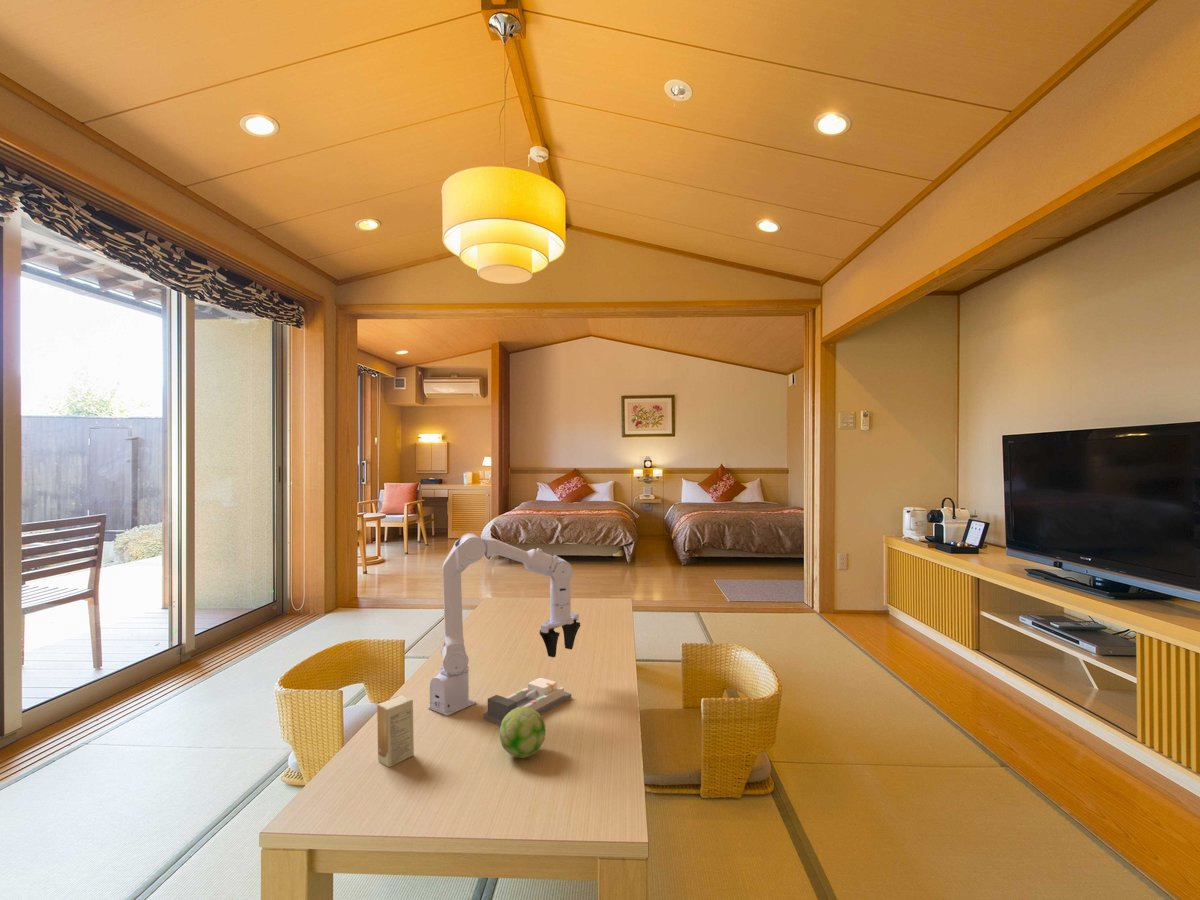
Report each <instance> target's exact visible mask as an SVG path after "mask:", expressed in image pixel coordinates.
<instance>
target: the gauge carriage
mask: <svg viewBox="0 0 1200 900" xmlns="http://www.w3.org/2000/svg"><path fill="white" fill-rule="evenodd" d="M527 687H528V693H527V694H526V698H527V699H531V698H532V699H536V698H538V697H540V696H541V697H542V696H544V695H546V694H548V693H550V692H552V691H554V690H556V689H558V688H557V681H554V680H551V679H548V678H544V677H539V678H538V677H537V678H536V679H533V680H532V681H530V682H527Z"/></svg>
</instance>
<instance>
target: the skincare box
mask: <svg viewBox="0 0 1200 900" xmlns="http://www.w3.org/2000/svg"><path fill="white" fill-rule="evenodd" d="M413 701H414V699H413V698H410V697H409V696H407V695H406V696H405V695H403V694H401V695H398V696H395V697H393V698H391V699H387V700H385V701H382V702H380V703H377V705H376V706H377V707H376V708H377V710H376V711H377V712H376V713H377V714H376V715H377V762H379V763H381V764H382V765H384V766H385V767H387V768H390V767H393V766H394V765H398V764H399V763H400V762H403V761H405V760H406V759H409V758H411V757H413V756H414V755H415V748H414V747H415V746H414V744H415V743H414V742H415V741H414V702H413Z"/></svg>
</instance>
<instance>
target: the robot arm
mask: <svg viewBox="0 0 1200 900" xmlns="http://www.w3.org/2000/svg"><path fill="white" fill-rule="evenodd" d="M495 555H497V556H501V557H505V558H507V559H510V560H513V561H517V562H520V563H522V564H523V566H524V568H525V570H528V571H530V572H534V573H537V574H540V575H542V576H544V577H550V578H549V579H550V580H549V581H550V582H549V583H550V584H549V619H547V620H546V621H545V622H543V623H542V624H540V629H539V635H540V637H541V638H542V641H543V642H544V646H545V649H546V652H547V656H548V657H549V658H555V657H556V656H557V648H558V647H557V645H558V640H559V637H560V634H561V633H560V632H558V631H556V630H555V629H558V628H560V627H561V628H562V632H563V639H564V642H563V643H564V648H565V650H566V649H567V650H573V648H574V643H575V640H576V636H577V633H578V631H579V629H580V627H581V622H579V620H580V616H579V615H580V613H577V612H572V611H571V610H572V608H571V599H572V598H571V597H572V596H571V594H572V593H571V591H572V590H571V588H572V587H571V580H572V577H573V576H574V570H573V567H572V565H571V564H570V563H569V561H567V560H565V559H563V558H561V557H560V556H558V555H556V554H553V555H552V554H548V553H546V552H544V551H543V549H541V548H539V547H537V548H536V549H535V548H531V549H529V550H523V549H521V548H519V547H516V546H513V545H511V544H509V543H506V542H503V541H502V540H499V539H496V538H493V537H489V536H485V535H480V534H479V535H477V534H476V533H475V532H474V533H473V532H469V533H464V534H463V535H462V536H461V537H459V538H458V539H457V540H455V542H454V544H453V546H452V548H451V549H450V551H449V553H448V555H447V556H446V558H445V560H444V561H443V563H442V566H441V568H442V569H441V570H442V592H443V593H442V594H443V595H442V596H443V600H442V601H443V621H444V622H443V624H444V625H443V626H444V628H443V629H444V634H443V637H444V638H443V639H444V640H443V645H442V647H441V650H440V655H441V659H442V665H441V666H440V668H439V673H438V674H437V675H435V676H434V677H432V679H431V680H430V683H429V705H428V706H427V709H429V710H431V711H432V710H433V711H434V712H437V713H440V714H441V715H443V716H450V715H452V714H454V713H457V712H459V711H461V710H464V709H466V708H468V707H470V706H472V705H475V704H476V702H477V701H476V700H474V699H473V698H470V697H469V696H470V695H469V688H470V687H469V682H470V679H469V673H470V671H469V669H470V668H469V656H468V654H467V652H466V646H465V640H464V639H465V638H464V630H463V629H464V627H463V625H464V624H463V601H462V600H463V599H462V598H463V597H462V573H463V572H464V571H465V570H466V569H467V568H469V566H471V565H473V564H475V563H477V562H478V561H480V560H482V559H483V557H484V556H485V557H486V558H490V557H493V556H495Z"/></svg>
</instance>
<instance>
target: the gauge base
mask: <svg viewBox="0 0 1200 900" xmlns="http://www.w3.org/2000/svg"><path fill="white" fill-rule="evenodd" d="M527 693H528V686H527V687H524V688H523V689H519V690H517V691H515V692H513V693H512V694H510V695H506V697H504V696H501V695H498V694H495V695H493V696H490V697H489V698H487V711H486V712H484V713H482V715H483V716H482V717H483V720H485V721H489V722H491V723H493V724H495V725H499V726H501V723H502V720H503V719H504V717H505V716H506V715H507V714H508V713H509V712H510V711H511V710H513V709H515V708H518V707H529V708H533V709H534V710H535V711H537V712H538V713H539V714H540V715H541V716H542V715H543V714H545V713H547V712H549V711H551V710H552V709H554V708H556V707H558V706H560V705H561V703H562V704H563V702H564V703H565V702H568V701H569V700H571V699H572V693H571V692H570V693H569V692H567V691H565V687H562V686H560V687H558V688H557V689H556V690H554V691H552V692H550V693H548V694H546V695H544V696H542V697H541V696H540V697H538V698H536V699H532V698H531V699H527V698H526V694H527ZM570 698H571V699H570ZM559 704H560V705H559ZM557 705H558V706H557ZM555 706H556V707H555ZM550 709H551V710H550ZM548 710H549V711H548ZM546 711H547V712H546ZM544 712H545V713H544ZM542 713H543V714H542Z"/></svg>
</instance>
